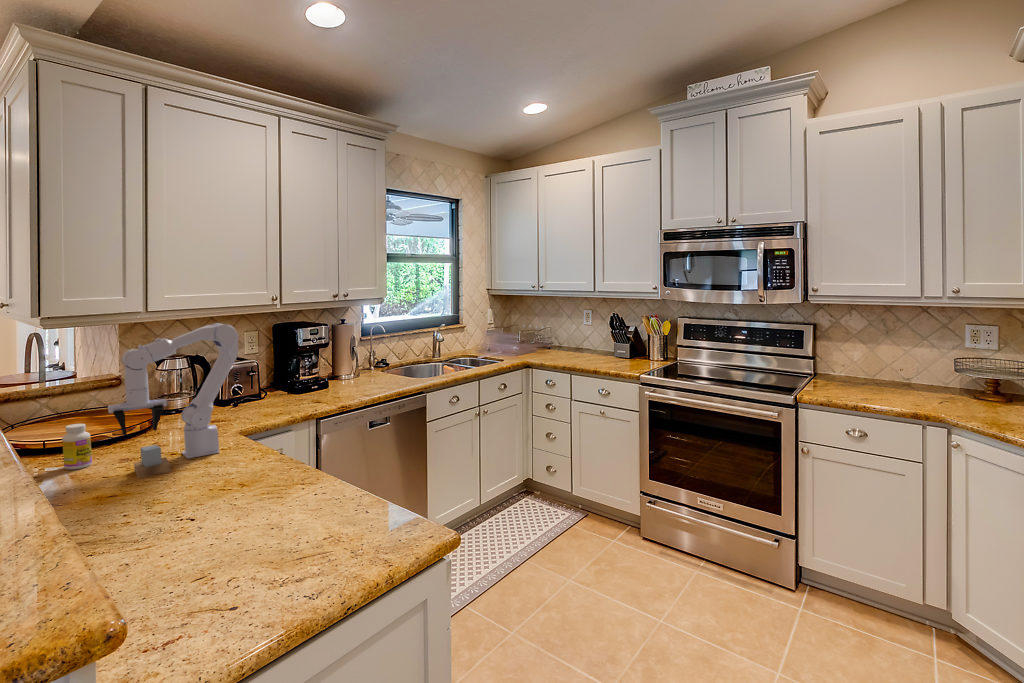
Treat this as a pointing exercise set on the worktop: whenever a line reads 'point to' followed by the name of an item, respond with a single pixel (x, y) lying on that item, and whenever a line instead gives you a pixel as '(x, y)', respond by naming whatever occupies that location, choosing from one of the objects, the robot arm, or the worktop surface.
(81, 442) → the supplement bottle
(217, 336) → the robot arm
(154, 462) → the gray block
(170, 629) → the worktop surface
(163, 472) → the walnut block
